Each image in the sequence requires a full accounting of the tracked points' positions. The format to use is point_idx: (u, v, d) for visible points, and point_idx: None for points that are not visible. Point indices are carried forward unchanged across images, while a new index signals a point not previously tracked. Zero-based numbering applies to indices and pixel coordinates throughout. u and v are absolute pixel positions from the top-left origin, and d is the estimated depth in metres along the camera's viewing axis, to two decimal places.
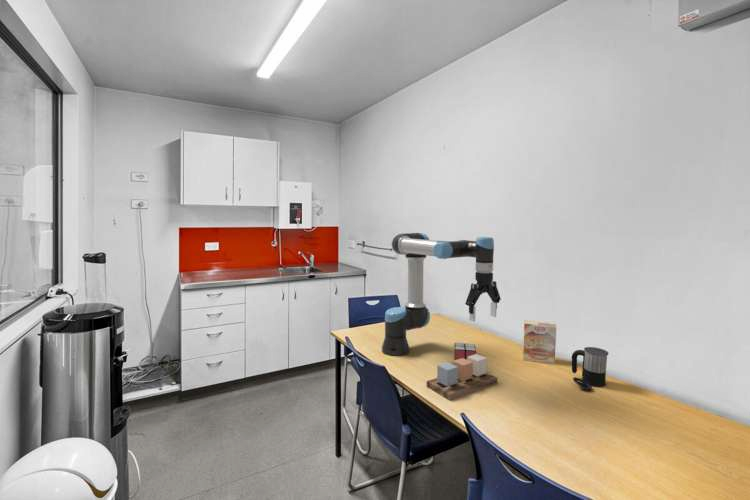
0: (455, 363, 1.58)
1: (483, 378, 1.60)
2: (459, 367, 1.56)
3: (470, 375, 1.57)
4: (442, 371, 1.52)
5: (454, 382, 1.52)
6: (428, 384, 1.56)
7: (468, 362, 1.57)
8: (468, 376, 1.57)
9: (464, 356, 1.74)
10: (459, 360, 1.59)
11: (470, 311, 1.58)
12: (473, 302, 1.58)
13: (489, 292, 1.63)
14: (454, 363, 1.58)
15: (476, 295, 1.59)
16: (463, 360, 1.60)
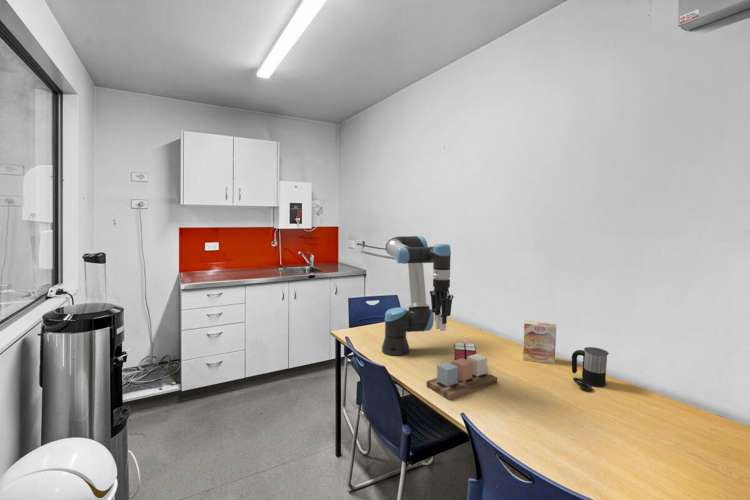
0: (455, 363, 1.58)
1: (483, 378, 1.60)
2: (459, 367, 1.56)
3: (470, 375, 1.57)
4: (442, 371, 1.52)
5: (454, 382, 1.52)
6: (428, 384, 1.56)
7: (468, 362, 1.57)
8: (468, 376, 1.57)
9: (464, 356, 1.74)
10: (459, 360, 1.59)
11: None
12: (435, 310, 1.66)
13: None
14: (454, 363, 1.58)
15: None
16: (463, 360, 1.60)
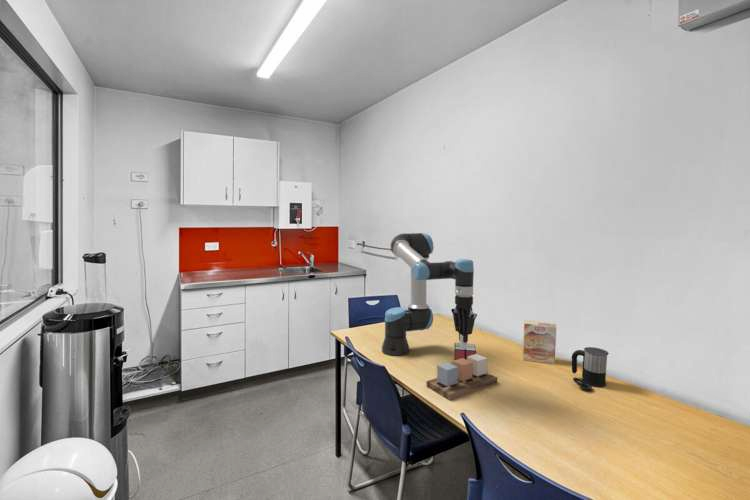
0: (455, 363, 1.58)
1: (483, 378, 1.60)
2: (459, 367, 1.56)
3: (470, 375, 1.57)
4: (442, 371, 1.52)
5: (454, 382, 1.52)
6: (428, 384, 1.56)
7: (468, 362, 1.57)
8: (468, 376, 1.57)
9: (464, 356, 1.74)
10: (459, 360, 1.59)
11: None
12: (458, 329, 1.58)
13: None
14: (454, 363, 1.58)
15: None
16: (463, 360, 1.60)
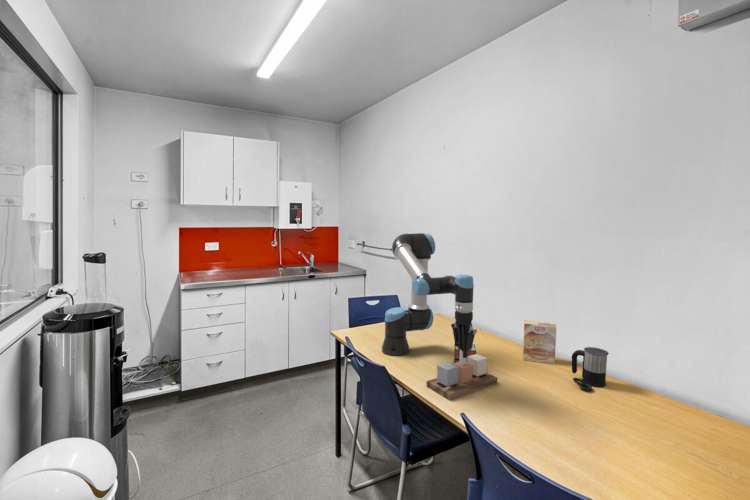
0: None
1: (483, 378, 1.60)
2: (459, 370, 1.56)
3: (470, 378, 1.57)
4: (442, 371, 1.52)
5: (454, 382, 1.52)
6: (428, 384, 1.56)
7: (468, 365, 1.57)
8: (468, 379, 1.57)
9: None
10: (458, 363, 1.59)
11: None
12: (458, 344, 1.59)
13: None
14: None
15: None
16: None
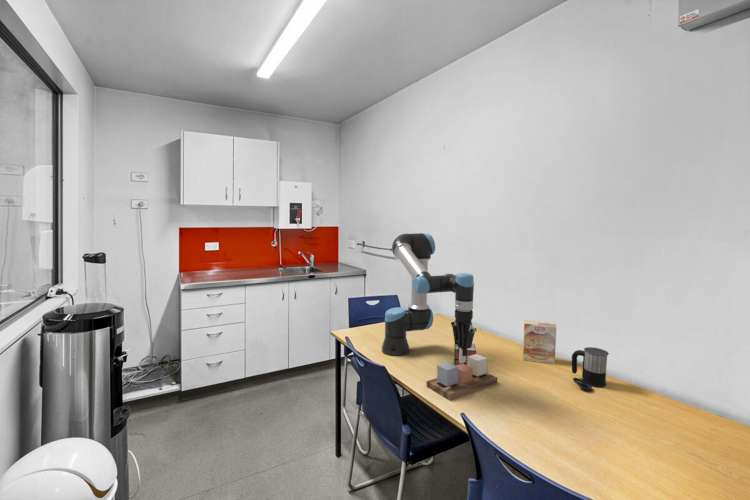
0: None
1: (483, 378, 1.60)
2: (459, 373, 1.56)
3: (470, 381, 1.57)
4: (442, 371, 1.52)
5: (454, 382, 1.52)
6: (428, 384, 1.56)
7: (468, 368, 1.58)
8: None
9: None
10: (458, 366, 1.59)
11: None
12: (457, 342, 1.59)
13: None
14: None
15: None
16: (463, 365, 1.60)
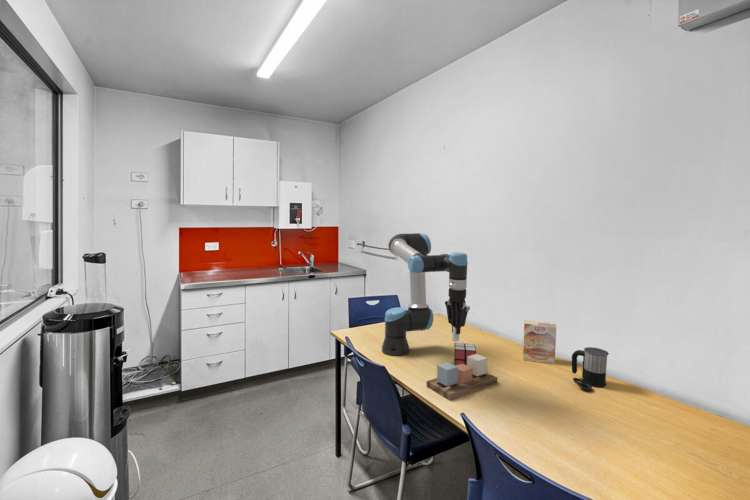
0: None
1: (483, 378, 1.60)
2: (459, 373, 1.56)
3: (470, 381, 1.57)
4: (442, 371, 1.52)
5: (454, 382, 1.52)
6: (428, 384, 1.56)
7: (468, 368, 1.58)
8: None
9: (464, 356, 1.74)
10: (458, 366, 1.59)
11: None
12: (451, 321, 1.60)
13: None
14: None
15: None
16: (463, 365, 1.60)
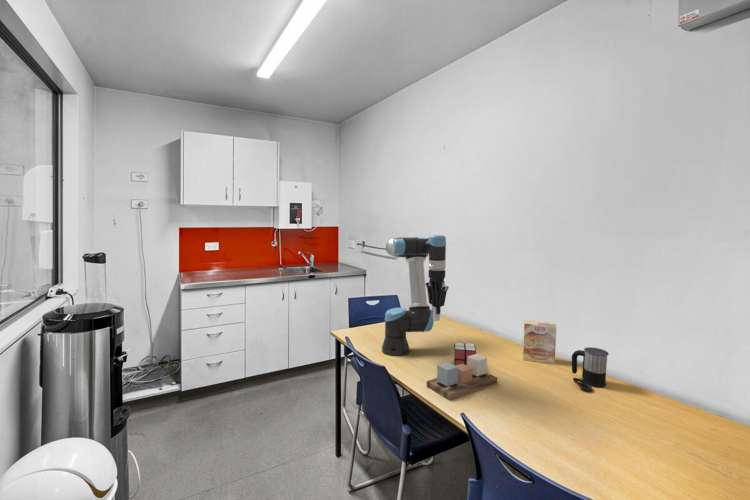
0: None
1: (483, 378, 1.60)
2: (459, 373, 1.56)
3: (470, 381, 1.57)
4: (442, 371, 1.52)
5: (454, 382, 1.52)
6: (428, 384, 1.56)
7: (468, 368, 1.58)
8: None
9: (464, 356, 1.74)
10: (458, 366, 1.59)
11: None
12: (431, 302, 1.66)
13: None
14: None
15: None
16: (463, 365, 1.60)
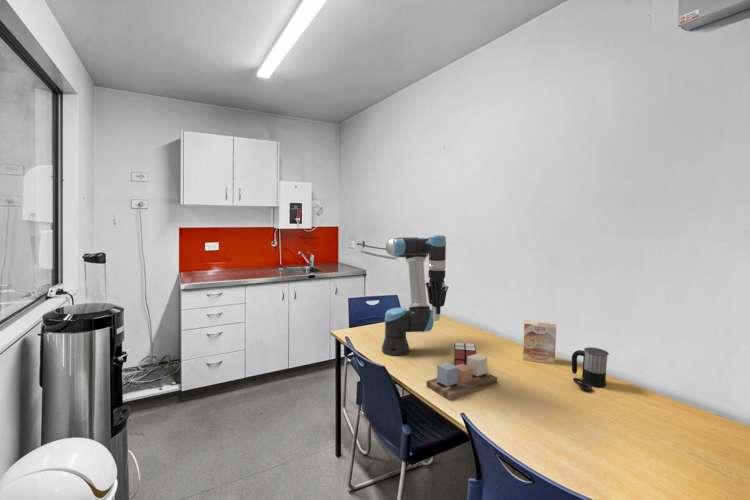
0: None
1: (483, 378, 1.60)
2: (459, 373, 1.56)
3: (470, 381, 1.57)
4: (442, 371, 1.52)
5: (454, 382, 1.52)
6: (428, 384, 1.56)
7: (468, 368, 1.58)
8: None
9: (464, 356, 1.74)
10: (458, 366, 1.59)
11: None
12: (431, 302, 1.66)
13: None
14: None
15: None
16: (463, 365, 1.60)
